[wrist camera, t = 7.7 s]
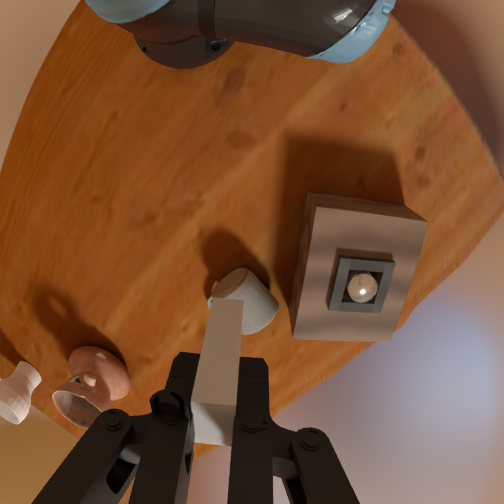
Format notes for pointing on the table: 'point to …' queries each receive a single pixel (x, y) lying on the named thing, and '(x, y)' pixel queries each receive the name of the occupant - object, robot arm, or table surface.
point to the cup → (18, 392)
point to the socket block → (353, 267)
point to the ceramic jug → (91, 385)
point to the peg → (361, 285)
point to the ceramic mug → (247, 299)
